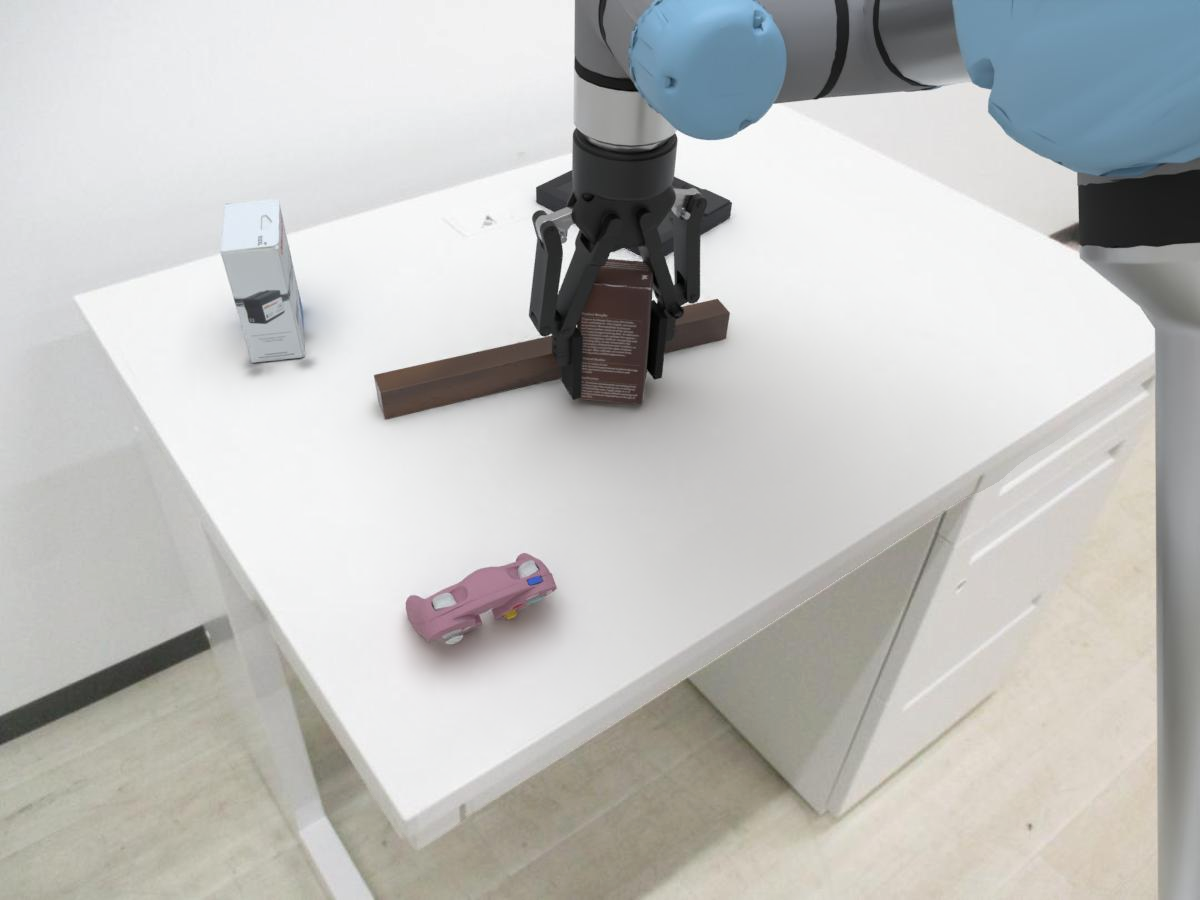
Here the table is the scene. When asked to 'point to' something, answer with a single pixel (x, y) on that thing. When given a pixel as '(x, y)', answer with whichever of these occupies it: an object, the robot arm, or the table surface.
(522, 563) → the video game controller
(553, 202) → the picture frame
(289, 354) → the ink box
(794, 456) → the table surface
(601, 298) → the box
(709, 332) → the straight edge
